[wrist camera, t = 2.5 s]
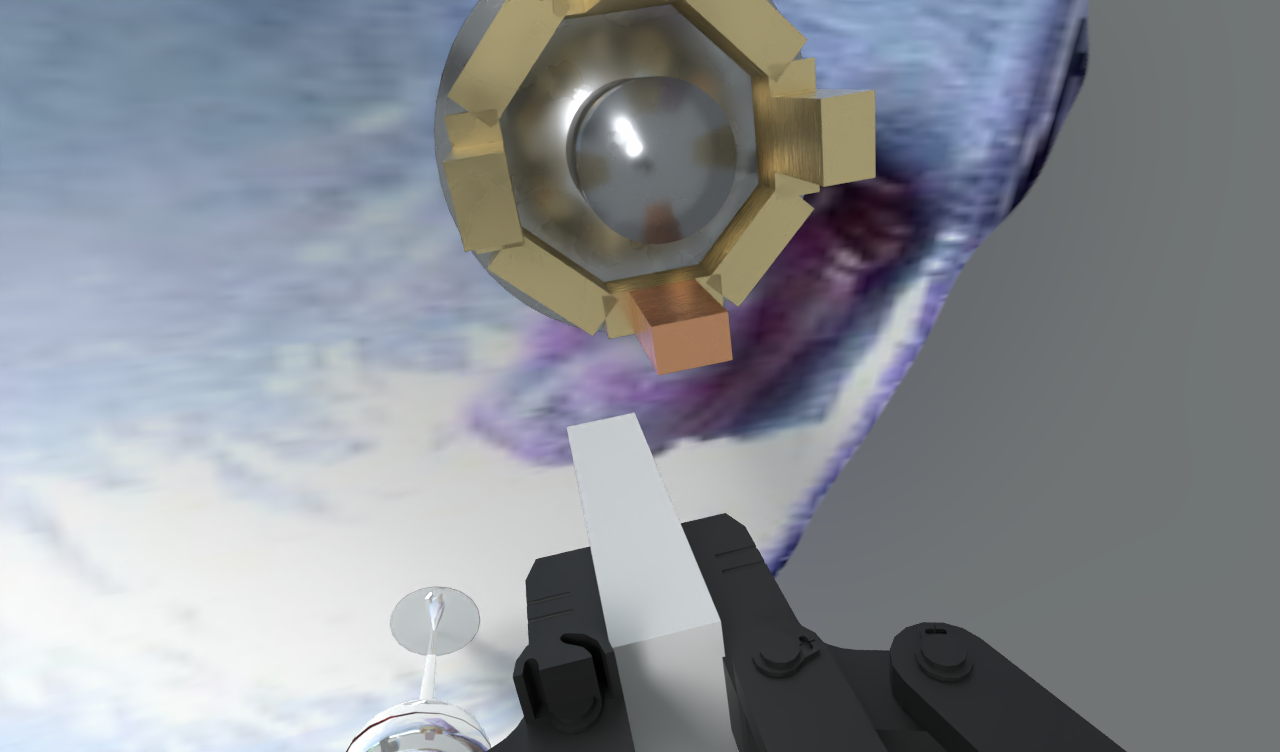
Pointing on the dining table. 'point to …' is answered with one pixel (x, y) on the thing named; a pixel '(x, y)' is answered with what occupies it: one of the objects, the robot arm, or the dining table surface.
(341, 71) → the dining table surface
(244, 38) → the dining table surface
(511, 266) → the gold crown
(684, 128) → the silver round piece
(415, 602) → the wineglass
